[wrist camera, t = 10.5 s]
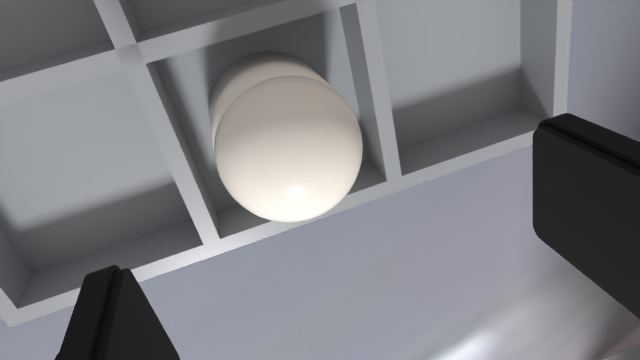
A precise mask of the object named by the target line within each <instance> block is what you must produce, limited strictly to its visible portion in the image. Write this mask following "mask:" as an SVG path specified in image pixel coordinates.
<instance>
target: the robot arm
mask: <svg viewBox="0 0 640 360" xmlns="http://www.w3.org/2000/svg"><path fill="white" fill-rule="evenodd" d="M533 227H534V230H535V232H536V234H537V236H538V237H539V238H540V239H541V240H542V241H544V242H545V243H546V244H547V245H549V246H550V247H551V248H552V249H553V250H555V251H556V252H557V253H558V254H560V255H561V256H562V257H563V258H565V259H566V260H567V261H568V262H570V263H571V264H572V265H573V266H575V267H576V268H577V269H578V270H580V271H581V272H582V273H583V274H585V275H586V276H587V277H588V278H590V279H591V280H592V281H593V282H594V283H596V284H597V285H598V286H599V287H601V288H602V289H603V290H604V291H606V292H607V293H608V294H609V295H611V296H612V297H613V298H614V299H616V300H617V301H618V302H619V303H621V304H622V305H623V306H624V307H626V308H627V309H628V310H629V311H631V312H632V313H633V314H634V315H635V316H637V317H638V318H639V319H640V142H638V141H635V140H633V139H631V138H628V137H626V136H623V135H621V134H618V133H616V132H614V131H611V130H609V129H606V128H604V127H601V126H599V125H596V124H594V123H592V122H589V121H587V120H584V119H582V118H579V117H577V116H575V115H572V114H569V113H564V114H560V115H557V116H554V117H551V118H548V119H546V120H543V121H541V122H540V123H539V125H538V127H537V129H536V130H535V131H534V133H533ZM55 360H180V358H179V355H178V353H177V351H176V350H175V348H174V346H173V344H172V342H171V341H170V339H169V337H168V335H167V334H166V332H165V330H164V328H163V326H162V325H161V323H160V321H159V319H158V318H157V316H156V314H155V312H154V310H153V309H152V307H151V305H150V303H149V301H148V300H147V298H146V296H145V294H144V293H143V291H142V289H141V287H140V285H139V284H138V282H137V280H136V278H135V277H134V275H133V273H132V272H131V270H130V269H129V268H125V269H122V270H121V268H120V267H119V266H117V265H112V266H109V267H106V268H103V269H100V270H97V271H94V272H91V273H88V274H86V276H85V278H84V280H83V283H82V286H81V289H80V292H79V295H78V298H77V301H76V304H75V307H74V310H73V313H72V316H71V319H70V322H69V325H68V328H67V331H66V334H65V337H64V340H63V343H62V346H61V349H60V352H59V353H58V354H57V356H56V358H55ZM603 360H640V345H638V346H635V347H633V348H630V349H628V350H625V351H623V352H620V353H618V354H615V355H613V356H610V357H608V358H605V359H603Z"/></svg>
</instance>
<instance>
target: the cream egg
mask: <svg viewBox="0 0 640 360" xmlns="http://www.w3.org/2000/svg"><path fill="white" fill-rule="evenodd" d="M209 118H210V126H211V134H212V142H213V150H214V157H215V163H216V167H217V170H218V173H219V176H220V178H221V180H222V183H223V184H224V186H225V187H226V189H227V190H228V192H229V193H230V195H231V196H232V197H233V198H234V199H235V200H236V201H237V202H238V203H239V204H240V205H241V206H243V207H244V208H245V209H247V210H248V211H250V212H251V213H253V214H255V215H257V216H260V217H262V218H265V219H268V220H272V221H277V222H299V221H305V220H309V219H312V218H315V217H317V216H320V215H322V214H323V213H325V212H327V211H329V210H330V209H332V208H333V207H334V206H336V205H337V204H338V203H339V202H340V201H341V200H342V199H343V198H344V197H345V196H346V195H347V193H348V192H349V191H350V189H351V187H352V186H353V184H354V182H355V180H356V178H357V175H358V173H359V169H360V166H361V161H362V152H363V143H362V135H361V131H360V127H359V124H358V121H357V119H356V116H355V114H354V112H353V111H352V109H351V107H350V106H349V105H348V103H347V102H346V101H345V100H344V98H343V97H342V96H341V95H340V94H339V93H338V92H337V91H336V90H335V89H333V88H332V87H331V86H330V85H329V84H328V83H327V82H326V81H325V80H324V79H323V78H322V77H321V76H320V75H319V74H317V73H316V72H315V71H314V70H313V69H312V68H311V67H310V66H309V65H308V64H307V63H305V62H304V61H302V60H301V59H299V58H297V57H295V56H293V55H290V54H287V53H282V52H275V51H266V52H258V53H254V54H251V55H248V56H245V57H243V58H241V59H240V60H238V61H236V62H235V63H233V64H232V65H231V66H230V67H229V68H228V69H226V70H225V72H224V73H223V74H222V75H221V76H220V78H219V79H218V81H217V83H216V84H215V87H214V89H213V91H212V95H211V98H210V104H209Z"/></svg>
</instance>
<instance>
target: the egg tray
mask: <svg viewBox="0 0 640 360" xmlns="http://www.w3.org/2000/svg"><path fill="white" fill-rule="evenodd" d="M572 4H573V0H0V317H1V318H2V319H3V321H4V322H5V323H6V324H7V325H8V327H12V326H15V325H18V324H21V323H24V322H27V321H29V320H32V319H35V318H38V317H41V316H44V315H47V314H49V313H52V312H55V311H58V310H61V309H64V308H66V307H69V306H72V305H75V304H76V301H77V298H78V295H79V292H80V289H81V286H82V283H83V280H84V278H85V276H86V274H88V273H91V272H94V271H97V270H100V269H103V268H106V267H109V266H112V265H117V266H119V267H120V268H121V270H122V269H125V268H129V269H130V270H131V272H132V273H133V275H134V277H135V278H136V280H137V282H141V281H144V280H146V279H149V278H152V277H155V276H158V275H161V274H164V273H166V272H169V271H172V270H175V269H178V268H181V267H184V266H186V265H189V264H192V263H195V262H198V261H201V260H204V259H206V258H209V257H212V256H215V255H218V254H221V253H223V252H226V251H229V250H232V249H235V248H238V247H241V246H243V245H246V244H249V243H252V242H255V241H258V240H261V239H263V238H266V237H269V236H272V235H275V234H278V233H281V232H283V231H286V230H289V229H292V228H295V227H298V226H301V225H303V224H306V223H309V222H312V221H315V220H318V219H321V218H323V217H326V216H329V215H332V214H335V213H338V212H341V211H343V210H346V209H349V208H352V207H355V206H358V205H361V204H363V203H366V202H369V201H372V200H375V199H378V198H380V197H383V196H386V195H389V194H392V193H395V192H398V191H400V190H403V189H406V188H409V187H412V186H415V185H418V184H420V183H423V182H426V181H429V180H432V179H435V178H438V177H440V176H443V175H446V174H449V173H452V172H455V171H458V170H460V169H463V168H466V167H469V166H472V165H475V164H478V163H480V162H483V161H486V160H489V159H492V158H495V157H498V156H500V155H503V154H506V153H509V152H512V151H515V150H518V149H520V148H523V147H526V146H529V145H532V144H533V133H534V131H535V130H536V129H537V127H538V125H539V123H540V122H541V121H543V120H546V119H548V118H551V117H554V116H557V115H560V114H564V113H567V95H568V77H569V59H570V40H571V22H572ZM266 51H275V52H282V53H287V54H290V55H293V56H295V57H297V58H299V59H301V60H302V61H304V62H305V63H307V64H308V65H309V66H310V67H311V68H312V69H313V70H314V71H315V72H316V73H317V74H319V75H320V76H321V77H322V78H323V79H324V80H325V81H326V82H327V83H328V84H329V85H330V86H331V87H332V88H333V89H335V90H336V91H337V92H338V93H339V94H340V95H341V96H342V97H343V98H344V100H345V101H346V102H347V103H348V105H349V106H350V107H351V109H352V111H353V112H354V114H355V116H356V119H357V121H358V124H359V127H360V131H361V135H362V143H363V152H362V161H361V166H360V169H359V173H358V175H357V178H356V180H355V182H354V184H353V186H352V187H351V189H350V191H349V192H348V193H347V195H346V196H345V197H344V198H343V199H342V200H341V201H340V202H339V203H338V204H337V205H336V206H334V207H333V208H332V209H330V210H329V211H327V212H325V213H323V214H322V215H320V216H317V217H315V218H312V219H309V220H305V221H299V222H277V221H272V220H268V219H265V218H262V217H260V216H257V215H255V214H253V213H251V212H250V211H248V210H247V209H245V208H244V207H243V206H241V205H240V204H239V203H238V202H237V201H236V200H235V199H234V198H233V197H232V196H231V195H230V193H229V192H228V190H227V189H226V187H225V186H224V184H223V183H222V180H221V178H220V176H219V173H218V170H217V167H216V163H215V157H214V150H213V142H212V134H211V126H210V118H209V104H210V98H211V95H212V91H213V89H214V87H215V84H216V83H217V81H218V79H219V78H220V76H221V75H222V74H223V73H224V72H225V70H226V69H228V68H229V67H230V66H231V65H232V64H233V63H235V62H236V61H238V60H240V59H241V58H243V57H245V56H248V55H251V54H254V53H258V52H266Z"/></svg>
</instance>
